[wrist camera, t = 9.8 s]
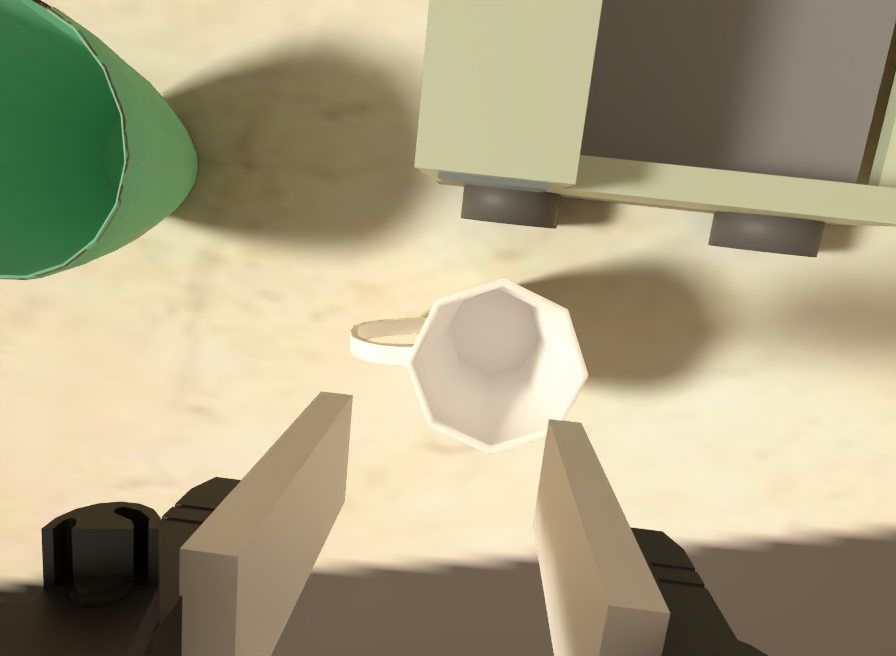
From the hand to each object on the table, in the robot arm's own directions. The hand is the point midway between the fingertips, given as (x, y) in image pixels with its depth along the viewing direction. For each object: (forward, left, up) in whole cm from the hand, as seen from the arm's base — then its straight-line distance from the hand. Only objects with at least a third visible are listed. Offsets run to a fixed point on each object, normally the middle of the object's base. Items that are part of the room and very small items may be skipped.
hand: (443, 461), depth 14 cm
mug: (-6, -19, -17) cm, 26 cm away
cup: (0, 0, -17) cm, 17 cm away
